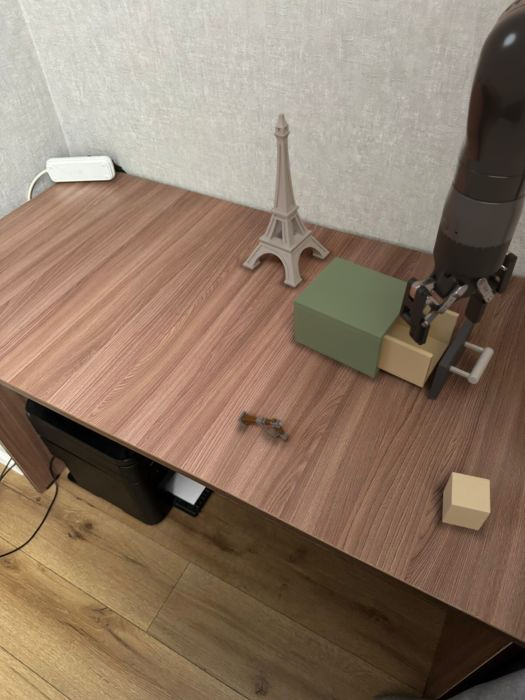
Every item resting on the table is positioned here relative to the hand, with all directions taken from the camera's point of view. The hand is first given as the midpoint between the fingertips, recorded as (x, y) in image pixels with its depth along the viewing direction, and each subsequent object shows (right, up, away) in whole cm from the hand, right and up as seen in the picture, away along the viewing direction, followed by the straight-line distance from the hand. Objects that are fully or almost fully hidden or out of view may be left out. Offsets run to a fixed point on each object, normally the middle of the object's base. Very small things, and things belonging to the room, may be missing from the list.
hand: (445, 329), depth 63 cm
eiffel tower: (-19, +17, +40) cm, 47 cm away
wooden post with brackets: (-24, -15, +12) cm, 30 cm away
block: (+2, -24, +1) cm, 24 cm away
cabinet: (-8, 0, +24) cm, 25 cm away
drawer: (+3, -4, +17) cm, 18 cm away
